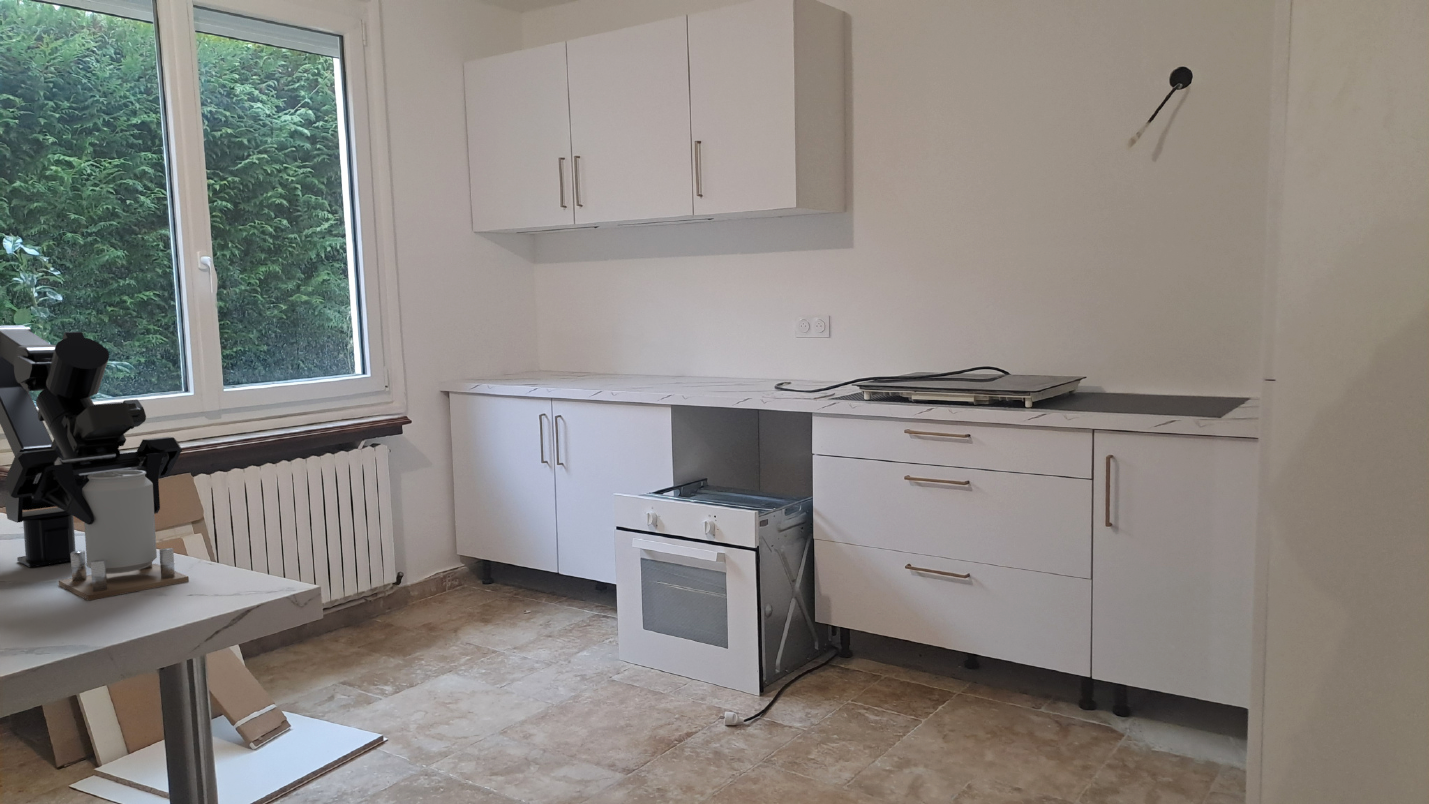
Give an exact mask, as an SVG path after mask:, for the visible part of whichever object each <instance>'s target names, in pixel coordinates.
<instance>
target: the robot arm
mask: <svg viewBox="0 0 1429 804" xmlns="http://www.w3.org/2000/svg"><path fill="white" fill-rule="evenodd" d="M62 336H63V337H62V339H61V340H60V341H58V342H57V344H51V343H49V342H47V341H46V340H45V339H43V338H41V337H40V336H38V335H36V334H35V333H33V332H32V329H31V328H30V327H29V326H25V325H23V324H21V325H19V324H18V325H16V324H15V325H14V324H13V325H0V427H1V430H2V431H3V433H4V436H5V438H6V441H7V442H8V444H9V447H10V449H11V452H12V453H13V456H14V458H13V460H12V463H11V464H10V466H9V470H8V472H7V474H6V476H5V478H4V480H5V487H6V489H7V491H8V492H7V495H6V499H5V502H4V508H5V514H6V518H7V520H10V521H12V522H15V523H16V524H17V523H22V525H23V537H24V551H25V552H24V553H25V555H24V556H23V555H22V556H18V557H17V558H16V559H17V560H16V561H17V562H18V563H21V564H23V565H25V566H27V567H29V568H35V567H40V566H47V565H53V564H57V563H58V564H59V563H64V562H65V563H66V562H71V552H74V551H77V550H76V537H75V524H74V522H75V521H74V520H75V519H74V518H76V519H78V520H80V521H82V522H83V523H84V522H85V523H86V524H88V525H90V524H93V522H94V516H93V514H92V511H91V509H90V507H89V505H88V503H87V501H86V500H85V498H84V496H83V493H82V488H83V487H84V486H85V485H86V484H87V483H88V481H89V479H88V477H87V476H89V475H91V474H95V473H101V472H109V471H121V470H142V471H145V472H146V474H145V477H146V478H147V479H149V480H150V481H151V482H152V483H153V498H154V515H157V514H159V511H160V510H161V501H160V500H161V499H160V487H159V486H160V485H159V484H160V483H159V479H163V478H164V479H165V477H167V476H169V475H170V473H171V472H172V470H173V468H174V466H175V464H176V463H177V460H178V458H179V456H180V455H181V453H182V451H183V448H182V447H181V446H180V443H179V442H178V440H177V439H176V438H175V437H172V436H162V437H154V438H153V437H152V438H144V439H141V442H140V444H139V445H138V448H137V450H136V451H131V452H123V453H121V451H120V447H124V445H125V444H126V441H127V438H126V437H125V434H126V433H127V432H129V431H130V430H133V429H135V428H139V426H141V425H142V424H143V423H144V422H145V421H146V419H147V415H146V411H145V409H144V406H143V405H142V404H141V402H140V401H139V399H137V398H136V399H126V400H123V401H122V402H113V403H100V404H99V403H98V404H94V402H93V400H92V398H91V397H93V396H94V395H95V396H96V395H97V394H98V393H99V390H100V387H101V383H102V382H103V381H102V380H103V378H104V374H105V371H106V367H107V365H108V362H109V358H110V353H109V350H108V349H107V348H106V347H105V346H103V345H102V344H101V343H100V342H98V341H96V340H94V339H91V338H87V337H85V336H84V333H83V332H82V331H64V333H63V335H62ZM37 391H39V394H38V396H37V398H36V400H35V403H34V400H33V399H32V396H31V394H30V392H37ZM44 422H45V423H44ZM45 424H46V425H45ZM46 426H47V427H46ZM47 428H48V430H49V431H48V430H47ZM49 432H50V433H51V434H50V433H49ZM50 435H52V437H51V436H50ZM52 438H53V439H52Z"/></svg>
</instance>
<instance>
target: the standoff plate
mask: <svg viewBox="0 0 1429 804" xmlns="http://www.w3.org/2000/svg"><path fill="white" fill-rule="evenodd" d="M70 563H71V565H70V566H71V578H66V579H60V580H58V586H60V587H61V588H63V589H66V590H67V591H69V592H71V593H74V594H75V595H77V596H79V597H81V598H83V599H85V600H86V601H93V600H97V599H102V598H103V599H104V598H109V597H113V596H118V595H119V596H120V595H123V594H130V593H134V592H139V591H145V590H149V589H155V588H159V587H160V588H161V587H165V586H171V585H176V584H180V583H185V582H189V581H190V579H189V575H187V574H183V573H181V572H178V571H176V570H175V556H174V548H172V547H168V548H160V549H159V564H158V563H153V562H152V563H150V565H149V566H148V567H146V568H143V569H140V570H136V571H131V572H124V573H114V574H106V560H105V559H100V560H93V561H91V568H90V571H91V572H90V574H89V575H87V559H86V550H76V551H74V552H71V561H70Z"/></svg>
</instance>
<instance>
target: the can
mask: <svg viewBox="0 0 1429 804" xmlns="http://www.w3.org/2000/svg"><path fill="white" fill-rule="evenodd" d="M145 474H146V472H145V471H142V470H131V469H127V470H119V471H109V472H101V473H95V474H88V475H89V476H87V477H88V479H89V481H88V483H87V484H86V485H85V486H84V487H83V488H82V493H83V496H84V498H85V500H86V501H87V503H88V505H89V507H90V509H91V511H92V514H93V516H94V522H93V524H90V525H88V524H86V523H85V522H83V524H84V538H85V558H86V567H88V568H90V569H91V561H93V560H100V559H105V560H106V574H114V573H124V572H131V571H136V570H140V569H143V568H146V567H148V566H149V565H150V563H152V564H153V562H154V561H155V560H156V559H157V558H158V555H157V540H156V538H157V536H156V534H157V533H156V518H155V517H156V516H155V514H154V498H153V483H152V482H151V481H150V480H149V479H147V478H146V477H145Z"/></svg>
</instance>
